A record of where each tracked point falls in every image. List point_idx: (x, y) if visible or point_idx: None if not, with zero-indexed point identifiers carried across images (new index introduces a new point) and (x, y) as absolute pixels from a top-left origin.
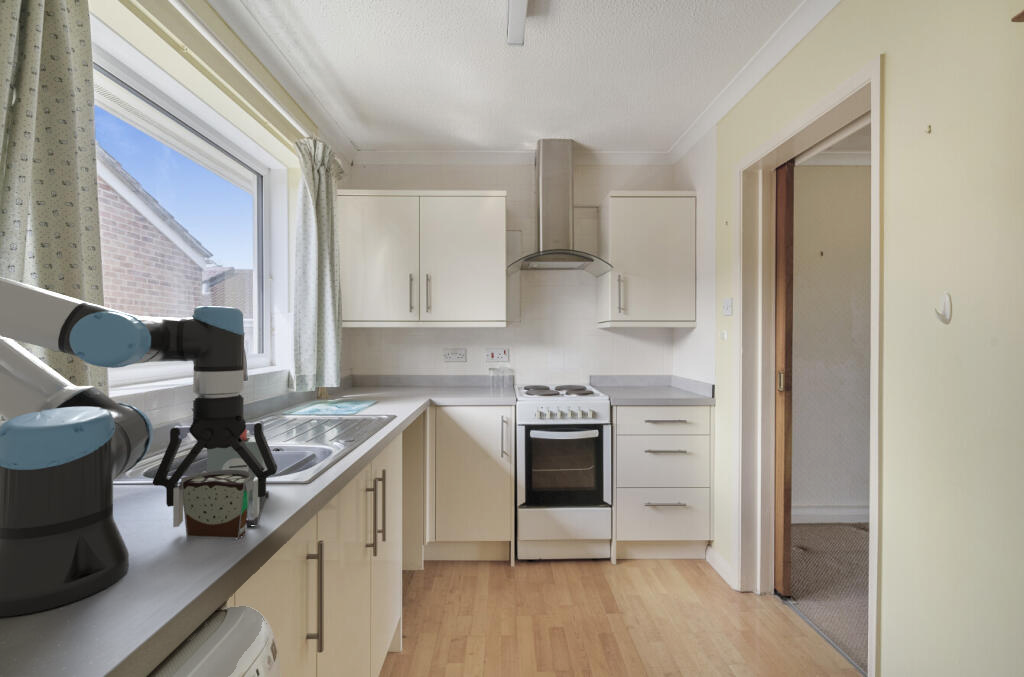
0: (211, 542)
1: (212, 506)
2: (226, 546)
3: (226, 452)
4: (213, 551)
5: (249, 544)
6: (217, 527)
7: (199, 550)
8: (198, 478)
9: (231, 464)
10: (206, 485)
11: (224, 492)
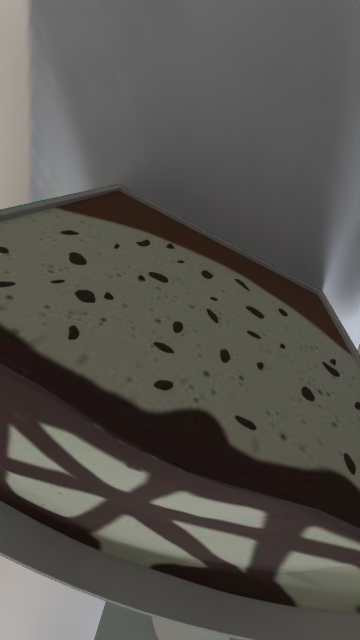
0: (220, 190)
1: (209, 308)
2: (147, 107)
3: None
4: (192, 51)
5: (54, 93)
6: (198, 245)
7: (260, 97)
8: (325, 589)
9: (201, 634)
10: (243, 451)
11: (91, 326)
